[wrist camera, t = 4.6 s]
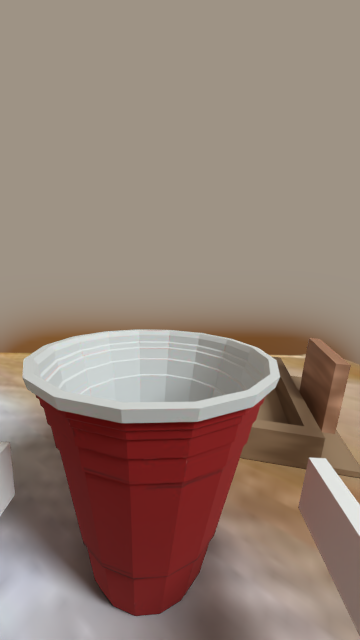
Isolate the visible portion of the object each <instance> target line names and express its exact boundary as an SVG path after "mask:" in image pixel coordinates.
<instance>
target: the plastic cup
mask: <svg viewBox="0 0 360 640" xmlns="http://www.w3.org/2000/svg"><path fill="white" fill-rule="evenodd" d="M279 378H280V373H279V369H278V364H277V360H275V359H274V358H272V357H271V356H269V355H268V354H266V353H265V352H263V351H262V350H260V349H259V348H257V347H254V346H251V345H248V344H245V343H242V342H239V341H236V340H233V339H229V338H224V337H219V336H214V335H209V334H204V333H195V332H185V331H184V332H183V331H174V330H125V331H124V330H122V331H106V332H100V333H94V334H87V335H81V336H74V337H70V338H67V339H64V340H61V341H58V342H54V343H51V344H48V345H44V346H43V347H41V348H40V349H38V350H37V351H35V352H34V353H32V354H31V355H29V356H28V357H26V358H25V359H24V362H23V380H24V382H25V385H26V387H27V389H28V390H29V391H31V392H32V393H34V394H35V395H36V397H37V398H38V399H39V400H40V404H41V406H42V407H43V408H44V411H45V415H46V419H47V423H48V424H49V425H50V426H51V428H52V432H53V436H54V440H55V444H56V448H58V449H59V450H60V454H61V458H62V462H63V465H64V469H65V473H66V477H67V481H68V485H69V489H70V493H71V497H72V500H73V504H74V508H75V512H76V516H77V520H78V524H79V528H80V531H81V535H82V539H83V543H84V545H85V546H86V547H87V549H88V553H89V557H90V561H91V565H92V569H93V574H94V578H95V581H96V582H97V583H98V585H99V587H100V589H101V590H102V591H103V593H104V594H105V595H106V597H107V598H108V599H109V601H110V602H111V603H112V605H113V606H115V607H117V608H119V609H121V610H123V611H126V612H128V613H130V614H132V615H134V616H140V615H151V614H160V613H162V612H163V611H165V610H166V609H168V608H170V607H171V606H173V605H174V604H176V603H177V602H179V601H181V599H182V598H183V596H184V595H185V593H186V592H187V590H188V589H189V587H190V586H191V584H192V583H193V581H194V580H195V578H196V577H197V575H198V574H199V572H200V569H201V566H202V563H203V560H204V557H205V554H206V551H207V547H208V544H209V542H210V540H211V539H212V538H213V536H214V533H215V530H216V527H217V524H218V521H219V518H220V515H221V512H222V509H223V506H224V503H225V500H226V497H227V494H228V491H229V488H230V485H231V482H232V479H233V476H234V473H235V470H236V467H237V464H238V461H239V458H240V455H241V452H242V449H243V446H244V445H245V444H246V443H247V441H248V438H249V434H250V431H251V427H252V424H253V423H254V422H255V421H256V419H257V415H258V412H259V408H260V406H261V405H262V404H263V402H264V398H265V397H266V396H267V395H268V394H269V393H270V392H271V391H272V390H273V389H274V388H276V385H277V383H278V381H279Z"/></svg>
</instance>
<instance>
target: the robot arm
mask: <svg viewBox="0 0 360 640" xmlns="http://www.w3.org/2000/svg"><path fill="white" fill-rule="evenodd" d="M14 495H15V489H14V478H13V468H12V458H11V447H10V442H0V516H1V514H2V513H3V511H4V510H5V508H6V507H7V505H8V504H9V503H10V501H11V500H12V498H13V497H14ZM298 508H299V510H300V512H301V514H302V516H303V518H304V520H305V522H306V524H307V527H308V529H309V531H310V533H311V535H312V537H313V539H314V541H315V543H316V545H317V548H318V550H319V552H320V554H321V556H322V558H323V560H324V562H325V564H326V566H327V569H328V571H329V573H330V575H331V577H332V579H333V581H334V583H335V585H336V587H337V590H338V592H339V594H340V596H341V598H342V600H343V602H344V604H345V606H346V608H347V611H348V613H349V615H350V617H351V619H352V621H353V623H354V625H355V627H356V629H357V632H358V634H359V636H360V505H359V503H358V502H357V501H356V499H355V498H354V496H353V495H352V494H351V492H350V491H349V490H348V488H347V487H346V485H345V484H344V483H343V481H342V480H341V479H340V477H339V476H338V474H337V473H336V472H335V470H334V469H333V468H332V466H331V465H330V463H329V462H328V461H327V459H326V458H309V459H308V464H307V469H306V474H305V478H304V483H303V488H302V493H301V498H300V502H299V507H298Z"/></svg>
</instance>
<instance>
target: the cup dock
mask: <svg viewBox="0 0 360 640" xmlns="http://www.w3.org/2000/svg"><path fill="white" fill-rule="evenodd" d="M272 358H274V359H275V360H277V364H278V369H279V373H280V378H279V381H278V383H277V385H276V388H274V389H273V390H272V391H271V392H270V393H269V394H268V395H267V396H266V397H265V398H264V402H263V404H262V405H261V406H260V408H259V412H258V415H257V419H256V421H255V422H254V423H253V424H252V427H251V431H250V434H249V438H248V441H247V443H246V444H245V445H244V446H243V449H242V452H241V455H240V458H245V459H251V460H257V461H263V462H269V463H275V464H281V465H286V466H292V467H298V468H304V469H307V464H308V459H309V458H326V459H327V461H328V462H329V463H330V465H331V466H332V468H333V469H334V470H335V472H336V473H337V474H340V475H346V476H352V477H357V478H360V466H359V464H358V463H357V461H356V460H355V458H354V457H353V455H352V453H351V452H350V450H349V449H348V447H347V446H346V444H345V443H344V441H343V440H342V438H341V436H340V435H339V433H338V432H337V430H336V427H337V423H338V418H339V414H340V410H341V405H342V401H343V396H344V392H345V388H346V383H347V379H348V375H349V370H350V366H351V365H350V364H349V363H347V362H346V361H345V360H344V359H343V358H342V357H340V356H339V355H338V354H337V353H335V352H334V351H333V350H332V349H331V348H330V347H328V346H327V345H326V344H325V343H324V342H323V341H322V340H320V339H313V338H309V341H308V347H307V352H306V358H305V363H304V368H303V374H302V377H295V376H290V374H289V372H288V371H287V369H286V367H285V365H284V363H283V362H282V360H281V358H278V357H272Z"/></svg>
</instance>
